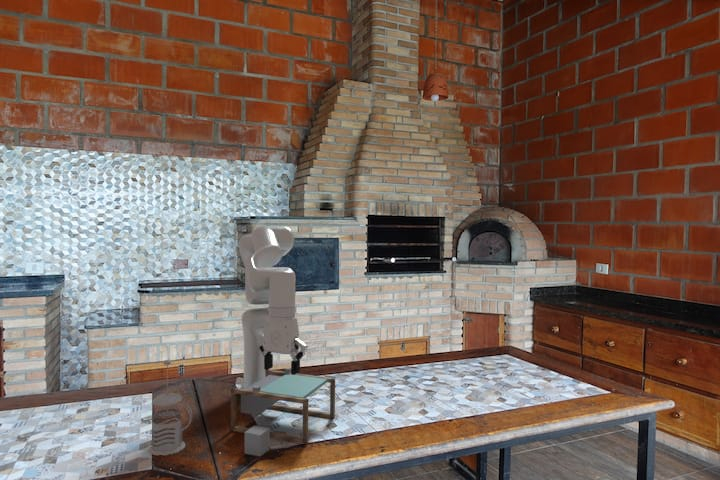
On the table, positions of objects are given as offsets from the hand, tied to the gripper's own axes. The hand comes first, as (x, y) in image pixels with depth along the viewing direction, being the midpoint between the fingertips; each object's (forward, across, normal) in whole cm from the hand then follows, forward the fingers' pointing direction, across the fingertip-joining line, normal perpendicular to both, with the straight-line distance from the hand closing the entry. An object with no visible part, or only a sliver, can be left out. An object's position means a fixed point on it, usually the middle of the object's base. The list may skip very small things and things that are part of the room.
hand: (281, 371), depth 138 cm
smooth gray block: (+21, -3, -7) cm, 23 cm away
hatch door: (+16, -7, +11) cm, 20 cm away
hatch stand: (+21, -7, +11) cm, 25 cm away
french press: (+21, -26, -18) cm, 38 cm away
